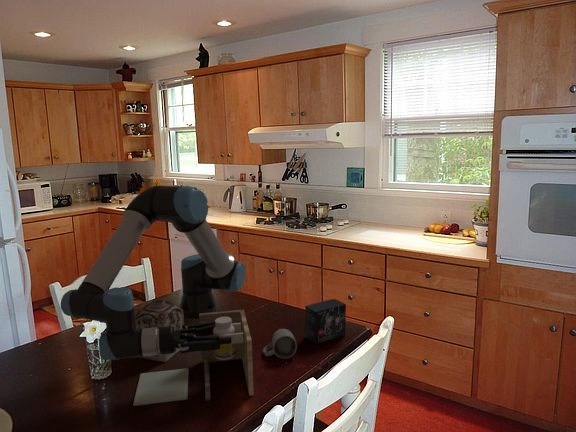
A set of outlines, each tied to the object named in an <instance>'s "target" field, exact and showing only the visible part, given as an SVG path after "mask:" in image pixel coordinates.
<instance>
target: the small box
mask: <svg viewBox="0 0 576 432" xmlns="http://www.w3.org/2000/svg"><path fill="white" fill-rule="evenodd" d="M346 309H347V304H346V303H344V302H342V301H340V300H338V299H336V298H332V299H327V300H323V301H319V302H315V303H311V304H307V305H305V324H304V325H305V326H304V327H305V329H304V333H305V334H304V338H305V339H307V340H308V341H310V342H312V343H313V344H315V345H318V344H322V343H325V342H328V341H329V342H330V341H331V340H335V339H339V338H342V337H345V336H346V318H347V317H346V316H347V315H346V313H347V311H346Z"/></svg>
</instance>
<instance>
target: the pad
mask: <svg viewBox="0 0 576 432" xmlns="http://www.w3.org/2000/svg"><path fill="white" fill-rule="evenodd" d="M188 393H189V367H188V368H180V369H178V368H177V369H170V370H169V369H168V370H161V371H150V372H143V373H140V375H139V380H138V383H137V386H136V391H135V395H134V400H133V406H144V405H151V404H160V403H168V402H169V403H170V402H174V401H175V402H176V401H185V400H188V395H189V394H188Z"/></svg>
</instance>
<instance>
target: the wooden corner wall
mask: <svg viewBox="0 0 576 432" xmlns="http://www.w3.org/2000/svg"><path fill="white" fill-rule="evenodd" d="M220 317H230V318H231V320H232V323H241V332H238V333H243V343H235V347H236V355H235V356H234V357H233V358H231V359H228V360H219V359H217V358H216V357H215V355H214V350H208V351H200V355H201V357H200V358H201V364H204V366H203V367H204V395H205V397H204V400H205V401H206V402H209V401H211V398H212V397H211V378H210V376H211V374H210V363H216V362H225V361H226V362H227V361H234V360H241V361H242V365H243V371H244V372H243V373H244V375H245V381H246V382H245V383H246V386H247V391H248V396H249V397H250V396H254V395H255V393H254V372H253V371H254V369H253V368H254V366H253V364H254V363H253V340H252V336H251V333H250V330H249V325H248V322H247V321H248V320H247V318H246V313H245V309H237V310H225V311H224V310H222V311H216V312H211V313H200V314H199V324H200V323H208V322H215V320H216V319H217V318H220ZM207 336H213V334H211V335H207Z"/></svg>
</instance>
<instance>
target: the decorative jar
mask: <svg viewBox="0 0 576 432" xmlns="http://www.w3.org/2000/svg"><path fill="white" fill-rule="evenodd" d="M179 306H180V305H177V304H176V303H175V302H174V301H168V300H165V299H164V298H154V299H152V300H150V302H148V303H146V304H144V305H142V306H141V307H139V309H138V311H137V312H136V314H135V324H136V329H144V328H153V327H157V328H158V329H160V328H161V327H165V326H173V328H174V331H177V330H180V329H182V325H185V319H184V318H185V317H184V315H183V310H182V309H181V308H180V307H179ZM179 352H181V349H180V348H175V350H174V353H171V354H161V353H160V352H159V354H158V355H151V357H149V356H142V357H139V359H144V360H151V361H157V362H162V363H167V362H168V361H169V360H170V359H172V358H173V357H174V356H176V355H177V354H178V353H179Z"/></svg>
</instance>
